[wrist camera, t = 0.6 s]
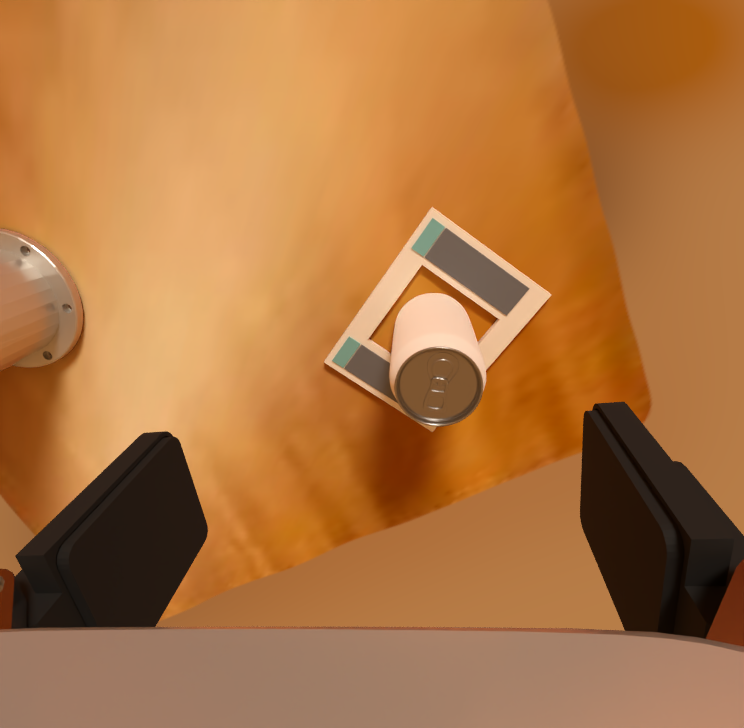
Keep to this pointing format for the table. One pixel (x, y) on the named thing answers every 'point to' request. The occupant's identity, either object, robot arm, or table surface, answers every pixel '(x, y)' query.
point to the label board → (462, 271)
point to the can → (436, 361)
